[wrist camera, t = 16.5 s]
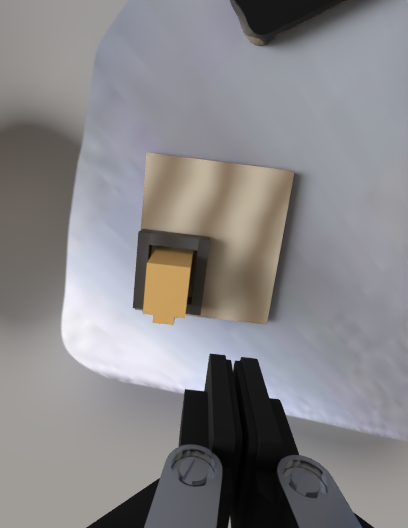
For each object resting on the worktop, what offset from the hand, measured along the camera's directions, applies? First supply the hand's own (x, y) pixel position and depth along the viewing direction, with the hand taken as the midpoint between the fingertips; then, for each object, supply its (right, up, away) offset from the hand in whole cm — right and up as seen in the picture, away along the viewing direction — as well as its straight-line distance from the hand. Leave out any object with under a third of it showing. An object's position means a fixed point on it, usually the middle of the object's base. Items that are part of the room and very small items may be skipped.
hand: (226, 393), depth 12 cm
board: (0, +7, +28) cm, 29 cm away
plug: (-4, +4, +27) cm, 28 cm away
